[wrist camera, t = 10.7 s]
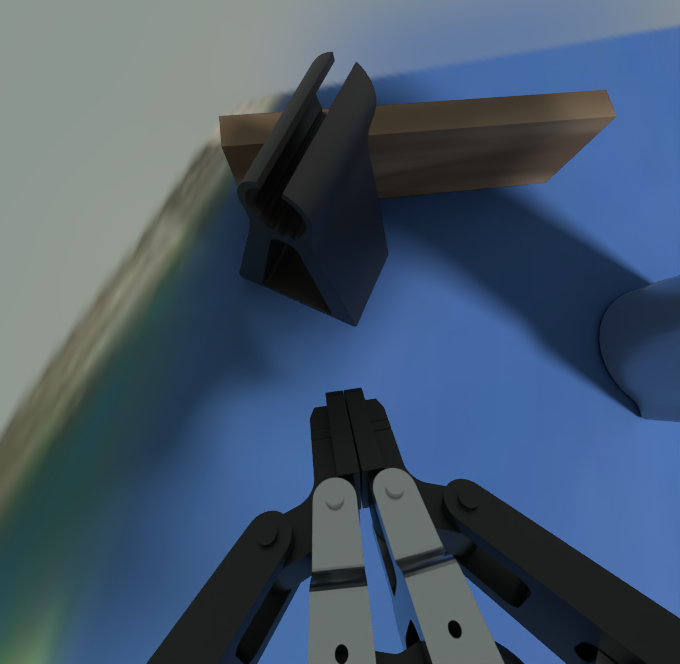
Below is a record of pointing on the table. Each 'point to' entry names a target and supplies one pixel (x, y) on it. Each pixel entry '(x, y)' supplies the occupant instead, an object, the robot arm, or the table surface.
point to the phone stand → (317, 200)
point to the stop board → (454, 140)
